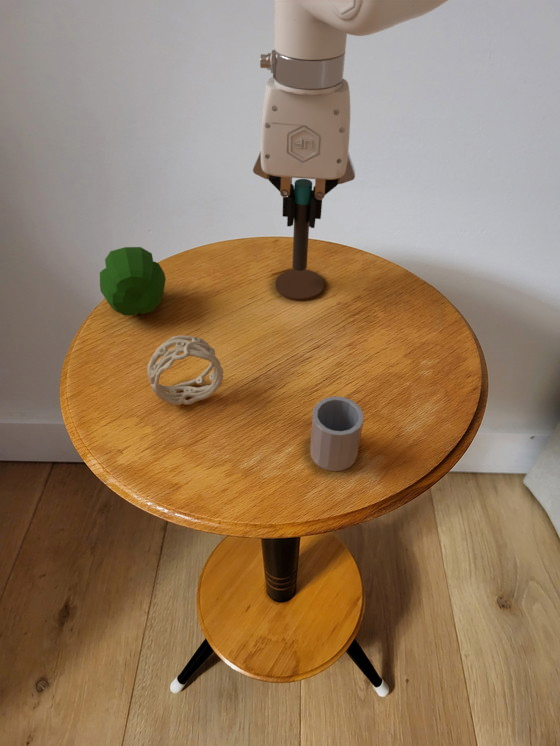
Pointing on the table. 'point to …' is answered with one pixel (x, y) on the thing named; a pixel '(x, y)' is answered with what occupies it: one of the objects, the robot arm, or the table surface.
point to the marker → (301, 223)
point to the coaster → (299, 285)
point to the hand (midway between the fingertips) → (301, 220)
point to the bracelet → (190, 349)
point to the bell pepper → (132, 281)
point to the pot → (336, 433)
